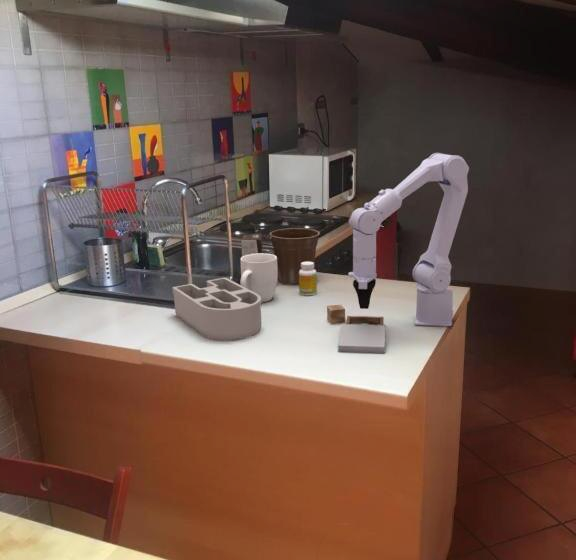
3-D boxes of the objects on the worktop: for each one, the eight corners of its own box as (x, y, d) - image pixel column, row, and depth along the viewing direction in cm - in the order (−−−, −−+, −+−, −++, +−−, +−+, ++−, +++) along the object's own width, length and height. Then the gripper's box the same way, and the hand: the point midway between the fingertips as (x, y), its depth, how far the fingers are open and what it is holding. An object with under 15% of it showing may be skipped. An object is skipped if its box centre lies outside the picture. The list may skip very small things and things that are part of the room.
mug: (259, 311, 183) (257, 267, 179) (227, 305, 188) (225, 263, 184) (285, 296, 195) (283, 255, 191) (254, 292, 200) (253, 251, 197)
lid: (385, 331, 157) (385, 325, 156) (384, 352, 151) (384, 347, 150) (341, 329, 159) (340, 324, 158) (338, 351, 153) (338, 345, 152)
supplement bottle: (315, 296, 194) (314, 265, 192) (298, 295, 195) (297, 265, 193) (318, 290, 199) (317, 260, 197) (301, 290, 200) (300, 260, 198)
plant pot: (318, 272, 220) (317, 226, 215) (322, 286, 204) (321, 237, 199) (271, 274, 219) (269, 228, 215) (271, 288, 204) (269, 239, 199)
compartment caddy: (226, 305, 190) (225, 277, 187) (273, 332, 167) (272, 301, 164) (174, 316, 181) (171, 287, 179) (215, 347, 158) (213, 314, 156)
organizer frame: (383, 323, 170) (383, 316, 169) (382, 343, 157) (382, 335, 156) (347, 322, 171) (347, 315, 171) (343, 341, 158) (343, 334, 158)
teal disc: (370, 328, 167) (370, 323, 167) (370, 333, 164) (370, 327, 164) (358, 328, 168) (358, 323, 167) (357, 332, 165) (357, 327, 164)
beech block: (341, 318, 175) (341, 304, 174) (345, 323, 171) (345, 309, 170) (327, 319, 174) (327, 305, 173) (330, 324, 171) (330, 310, 170)
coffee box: (263, 288, 204) (260, 239, 199) (242, 288, 204) (240, 239, 199) (264, 280, 212) (262, 233, 208) (245, 280, 213) (242, 233, 208)
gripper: (350, 249, 167) (350, 298, 171) (346, 263, 153) (346, 316, 157) (377, 249, 166) (377, 299, 169) (375, 264, 152) (375, 317, 156)
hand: (364, 307), depth 163 cm, fingers closed
